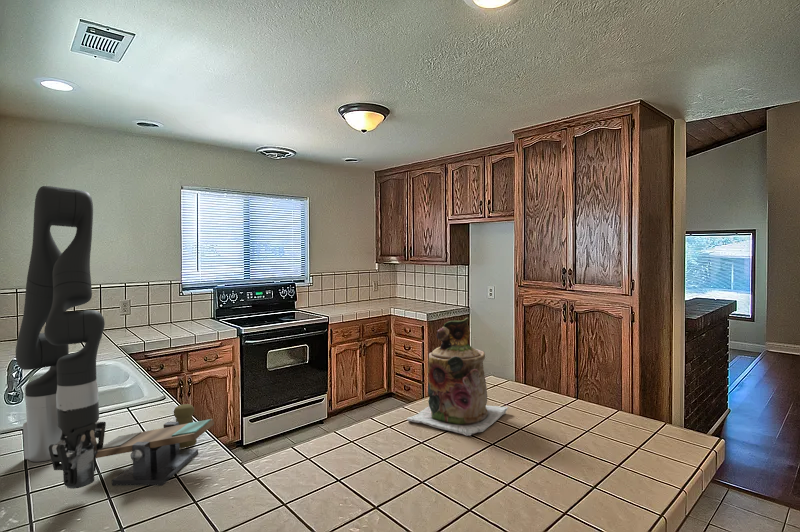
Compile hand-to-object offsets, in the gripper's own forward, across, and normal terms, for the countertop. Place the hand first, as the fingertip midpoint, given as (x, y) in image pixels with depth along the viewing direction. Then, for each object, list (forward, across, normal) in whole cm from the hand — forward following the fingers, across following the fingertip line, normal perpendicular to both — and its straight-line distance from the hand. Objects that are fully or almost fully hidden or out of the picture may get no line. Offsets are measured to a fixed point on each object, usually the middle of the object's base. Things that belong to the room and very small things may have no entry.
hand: (80, 478), depth 101 cm
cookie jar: (+4, -49, +86) cm, 99 cm away
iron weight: (+1, 0, 0) cm, 1 cm away
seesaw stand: (+5, -15, +9) cm, 18 cm away
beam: (-2, -15, +8) cm, 17 cm away
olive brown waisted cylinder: (+5, -30, +8) cm, 31 cm away
